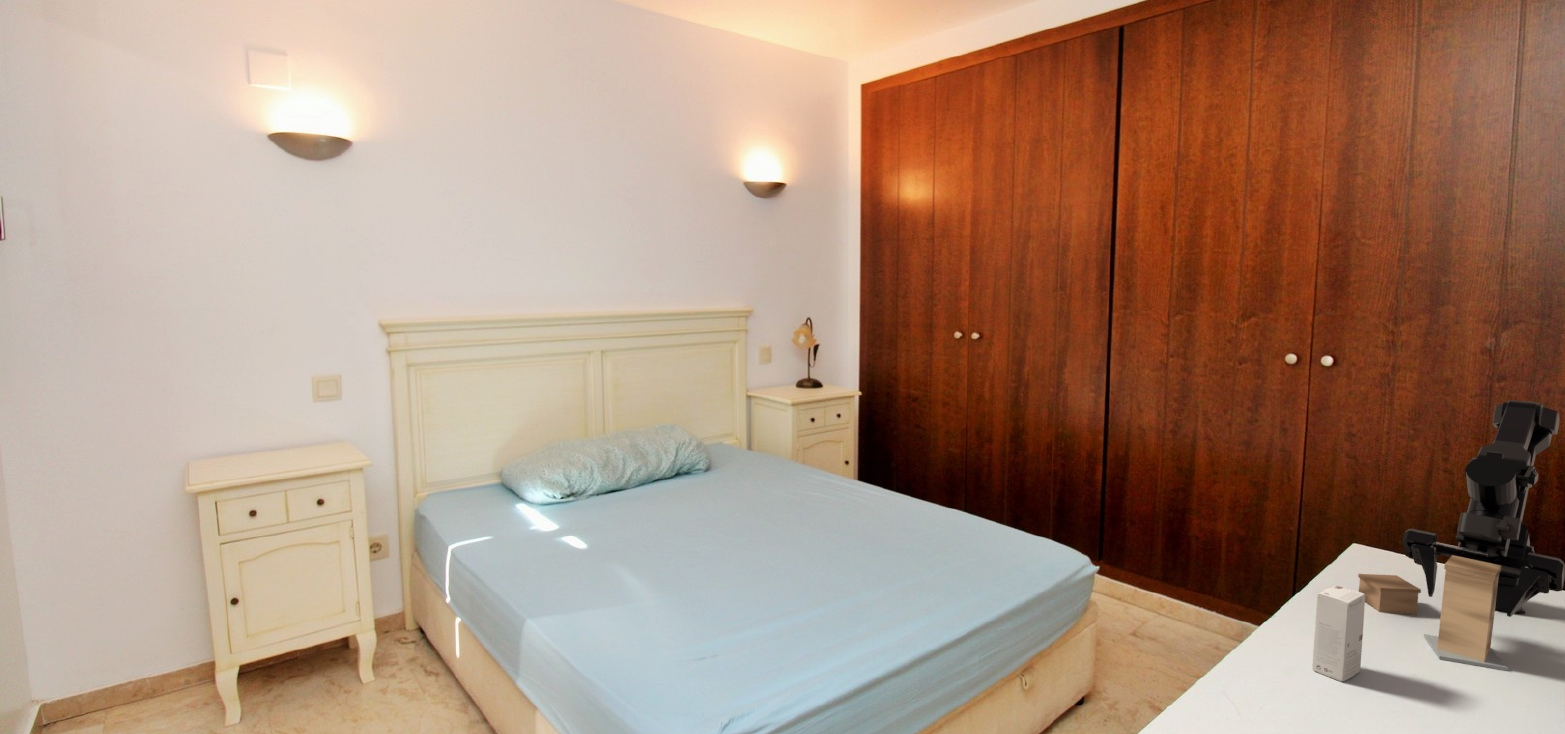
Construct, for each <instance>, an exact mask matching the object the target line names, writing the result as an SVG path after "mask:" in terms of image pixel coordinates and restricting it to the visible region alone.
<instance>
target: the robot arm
mask: <svg viewBox="0 0 1565 734" xmlns="http://www.w3.org/2000/svg"><path fill="white" fill-rule="evenodd" d="M1492 419H1493V420H1492V426H1493V427H1494V428H1495V429H1497V431H1496V434H1495V436H1494V439H1493V442H1492V443H1491V444H1487V445H1484V446H1482V447H1480V449H1479V450H1478V453H1477V455H1476V456H1475V457H1471V459H1470V460H1469V462H1468V463H1467V464H1466V467H1465V468H1464V477H1465V479H1466V486H1467V493H1468V496H1469V497H1470V500H1469V503H1468V507H1467V510H1466V512H1460V515H1459V520H1458V525H1457V533H1456V536H1455V540H1456V542H1458V545H1451V544H1448V543H1442V542H1439V541H1438V534H1437V533H1434V532H1430V531H1425V530H1419V529H1415V528H1409V529H1407V530H1406V531H1405V532H1404V534H1403V537H1402V545H1403V549H1404V554H1405V557H1407V558H1409V559H1411V560H1413V563H1415V564H1416V565H1419V566H1421V567H1422V570H1423V573H1424V576H1425V581H1426V587H1427V595H1428V597H1430V598H1433V596H1434V593H1435V589H1436V582H1437V580H1436V579H1437V574H1438V562H1437V560H1438V558H1439V556H1443V557H1447V558H1450V557H1451V556H1452V555H1454V556H1459V557H1463V558H1468V559H1473V560H1478V561H1482V562H1487V563H1492V564H1496V565H1501V571H1500V573H1499V579H1498V588H1497V596H1496V605H1495V611H1503V612H1506V616H1507V617H1510V618H1511V617H1513V615H1514V614H1515V613H1517V614H1526V610H1525V609H1524V608H1523V607H1522V606H1524V605H1525V604H1526V603H1527V602H1528V601H1530V600H1531V599H1532V598H1533V597H1536V595H1538V594H1540V593H1543V594H1549V593H1550V591H1553V592H1562V591H1563V588H1564V585H1565V584H1564V582H1565V562H1564V561H1563V560H1562V559H1561V558H1558V557H1554V556H1549V555H1545V554H1540V553H1535V550H1534V548H1535V547H1534V546H1532V545H1530V544H1531V542H1530V533H1529V531H1528V528H1527V527H1526V524H1524V523H1523V518H1524V512H1525V509H1526V503H1527V499H1528V494H1529V490H1530V489H1531V488H1532V487H1533V486H1534V487H1535V484H1536V483H1537V482H1538V480H1539V473H1538V472H1537V469H1536V468H1535V466H1534V463H1535V460H1536V457H1537V455H1539V454H1540V453H1542V452H1543V451H1544V450H1546V449H1547V448H1549V447H1550V445H1551V441H1552V437H1553V435H1558V431H1559V428H1560V427H1559V426H1560V414H1559V411H1557V410H1554V409H1551V408H1548V407H1546V406H1544V405H1543V404H1540V403H1538V402H1534V401H1524V400H1523V401H1522V400H1515V399H1514V400H1511V399H1510V400H1508V401H1507V400H1504V401H1503V402H1502V403H1501V404H1497V405H1496V404H1495V408H1494V413H1493V418H1492ZM1529 488H1530V489H1529Z"/></svg>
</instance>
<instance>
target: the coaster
mask: <svg viewBox="0 0 1565 734" xmlns="http://www.w3.org/2000/svg"><path fill="white" fill-rule="evenodd" d="M1438 636H1439V635H1431V634H1425V633H1424V634H1423V638H1424V640H1425V641H1426V643H1427V644H1428V645H1429V646H1430V649H1432V651H1433V652H1434V654H1435V656H1437V658H1438V659H1439V660H1443V661H1449V662H1454V663H1461V664H1466V665H1471V666H1478V667H1483V668H1489V669H1495V670H1500V671H1501V670H1502V671H1506V672H1507V671H1508V666H1507V665H1506V663H1505V662H1504V661H1503V660H1502V659H1501V658H1500V657H1499V656H1498V654H1496V652H1495V651H1494V650H1493V649H1492V648H1491V647H1490V652H1489V654H1488V655H1487V657H1486V659H1485V661H1484V662H1482V661H1479V660H1475V659H1472V658H1468V657H1465V656H1461V655H1458V654H1454V653H1451V652H1447V651H1444V650H1440V649H1437V646H1438Z"/></svg>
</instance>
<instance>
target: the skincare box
mask: <svg viewBox="0 0 1565 734" xmlns="http://www.w3.org/2000/svg"><path fill="white" fill-rule="evenodd" d="M1365 604H1366V603H1365V594H1364V593H1361V592H1359V590H1358V591H1357V590H1353V589H1349V588H1346V587H1342V586H1340V585H1339V586H1338V585H1333V586H1330V587H1327V588H1325V589H1323V590H1322V591H1321V592H1318V593H1317V595H1316V609H1315V623H1314V637H1313V638H1314V639H1313V649H1312V652H1313V653H1312V664H1311V665H1312V666H1311V667H1312V671H1314V672H1315V673H1318V674H1321V675H1322V676H1325V677H1329V679H1334V680H1336V681H1338V682H1345V681H1347V680H1349V679H1351V678H1353V677H1354V676H1356V675H1357V674H1359V672H1360V671H1361V663H1362V652H1363V650H1362V649H1363V638H1364V637H1363V636H1364V634H1363V633H1364V621H1365V619H1364V618H1365V606H1366V605H1365Z"/></svg>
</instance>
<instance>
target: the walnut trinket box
mask: <svg viewBox="0 0 1565 734" xmlns="http://www.w3.org/2000/svg"><path fill="white" fill-rule="evenodd" d="M1357 577H1358V578H1359V582H1358V583H1359V586H1358V592H1361V593H1364V594H1365V604H1367V605H1368V606H1370V607H1371V608H1373V609H1374V610H1375V611H1377V612H1378V613H1391V614H1393V613H1395V614H1416V615H1417V612H1418V602H1419V594H1421V593H1422V589H1421V588H1419V587H1418V586H1416V585H1414V584H1413V583H1411V582H1409V581H1407V580H1405V579H1404V578H1402V577H1400V576H1399V575H1393V574H1375V573H1372V574H1371V573H1370V574H1369V573H1358V574H1357Z"/></svg>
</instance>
